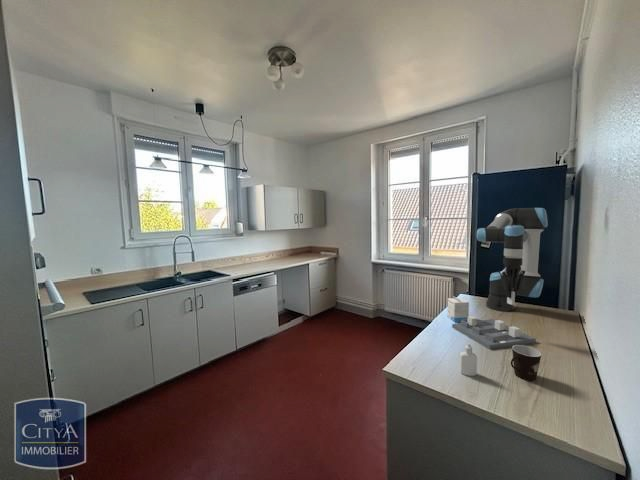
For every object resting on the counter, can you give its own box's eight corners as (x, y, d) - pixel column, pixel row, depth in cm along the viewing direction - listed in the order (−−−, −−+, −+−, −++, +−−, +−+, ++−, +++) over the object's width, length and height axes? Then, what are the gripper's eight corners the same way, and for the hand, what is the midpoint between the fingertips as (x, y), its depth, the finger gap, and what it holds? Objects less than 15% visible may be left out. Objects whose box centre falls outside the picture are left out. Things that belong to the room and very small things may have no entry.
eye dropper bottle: (461, 368, 104) (462, 339, 103) (477, 373, 100) (478, 343, 99) (458, 373, 100) (459, 343, 99) (474, 378, 97) (475, 348, 96)
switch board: (492, 322, 146) (492, 315, 146) (535, 342, 123) (536, 333, 123) (452, 327, 141) (452, 319, 141) (489, 349, 118) (489, 340, 117)
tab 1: (472, 323, 140) (472, 316, 140) (476, 325, 138) (476, 318, 137) (467, 323, 140) (467, 316, 140) (471, 326, 137) (471, 318, 137)
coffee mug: (529, 369, 102) (530, 345, 101) (546, 383, 93) (547, 357, 92) (497, 368, 103) (498, 344, 102) (511, 382, 94) (512, 356, 94)
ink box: (468, 322, 148) (469, 299, 147) (454, 322, 148) (454, 299, 147) (461, 316, 156) (461, 294, 155) (447, 316, 156) (447, 295, 155)
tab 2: (499, 327, 135) (499, 320, 134) (504, 329, 132) (504, 322, 131) (494, 328, 134) (494, 320, 134) (499, 330, 131) (499, 322, 131)
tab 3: (513, 334, 127) (514, 326, 126) (519, 336, 124) (519, 328, 124) (508, 334, 126) (509, 326, 126) (514, 337, 123) (514, 329, 123)
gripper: (517, 255, 132) (515, 300, 134) (494, 256, 130) (493, 302, 132) (531, 257, 124) (529, 305, 126) (508, 258, 122) (505, 307, 124)
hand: (510, 303), depth 129 cm, fingers closed
